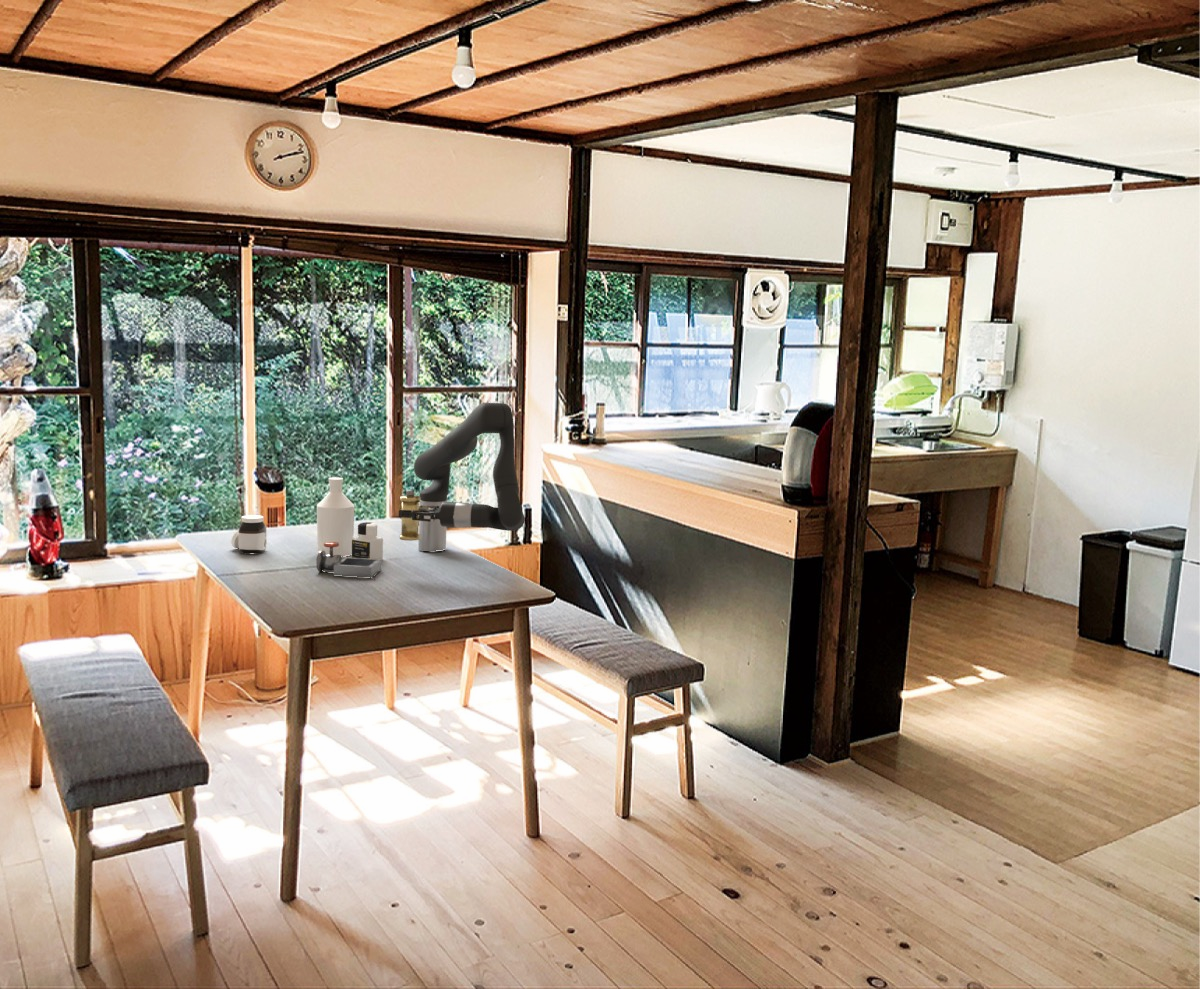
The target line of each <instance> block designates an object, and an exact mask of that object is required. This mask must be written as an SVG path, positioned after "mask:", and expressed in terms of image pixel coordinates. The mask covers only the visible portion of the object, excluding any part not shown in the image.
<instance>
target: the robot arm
mask: <svg viewBox="0 0 1200 989" xmlns="http://www.w3.org/2000/svg"><path fill="white" fill-rule="evenodd" d="M514 428H515V427H514V416H513V412H512V408H511V406H510V405H508V404H506V403H501V402H483V403H480V404H478V405H477V406H476V407H475V408H474V409H473V410H472V411H471V412H470V413H469V414H468V416H467V417H466V418H465V419H464V420H463V421H462V422H461V423H460V424H458V425H457V426H456V427H455V428H454V429H452V430H451V431H450V432H449V433H447V434H446V435H445V436H444V437H443V438H442V439H440V440H439V441H438V442H436V443H435V444H434V445H433V446H432V447H430V448H428V449H427V450H425V451H422V452H421V453H419V455H418V456H417V457H416V459H415V461H414V464H413V465H414V466H413V471H414V474H415V476H416V477H417V478H418V479H420V480H423V481H432V483H430V485H429V486H427V487H426V488H424V489H422V490H420V491H419V495H418V496H420V502H419V510H402V509H399V510H398V517H399V518H401V519H402V518H411V519H412V520H418V534H419V535H420V539H419V540H418V551H420V550H422V551H421V552H423V551H436V550H443V549H445V548H446V549H447V527H448V528H463V529H464V528H479V529H481V528H482V529H483V528H485V529H486V528H488V529H494V530H501V531H509V532H511V531H512V532H515V531H517V530H520V529H521V528H522V527H523V526H524V524H525V521H526V517H525V514H524V513H523V509H522V506H521V500H520V496H519V495H520V490H519V488H520V487H519V483H518V476H517V471H516V465H515V464H516V463H515V462H516V461H515V429H514ZM483 434H498V435H499V439H500V446H499V447H500V448H499V451H498V455H497V457H496V460H495V462H494V465H493V469H492V478H493V484H494V490H495V494H496V495H495V496H496V498H497V499H496V501H497V503H496V504H497V507H496V506H492V505H490V504H483V503H469V502H462V501H461V502H459V501H448V494H449V490H450V477H451V476H450V475H451V464H453V463H455V462H458V461H461V460H463V459H465V458H466V457H468V456H469V455H470V454H471V453H472V452H474V450H476V448H477V445H478V436H480V435H483ZM416 514H419V516H418V517H416Z"/></svg>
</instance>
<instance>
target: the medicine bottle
mask: <svg viewBox="0 0 1200 989" xmlns="http://www.w3.org/2000/svg"><path fill="white" fill-rule="evenodd" d="M383 550H384V538H383V537H380V536H378V525H377V523H374V522H370V521H369V522H367V521H365V522H360V523H359V524H358V525H357V537H354V538H353V539H352V555H351V558H368V559H382V560H383V558H384V557H383V556H384V555H383V553H384V551H383Z"/></svg>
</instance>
